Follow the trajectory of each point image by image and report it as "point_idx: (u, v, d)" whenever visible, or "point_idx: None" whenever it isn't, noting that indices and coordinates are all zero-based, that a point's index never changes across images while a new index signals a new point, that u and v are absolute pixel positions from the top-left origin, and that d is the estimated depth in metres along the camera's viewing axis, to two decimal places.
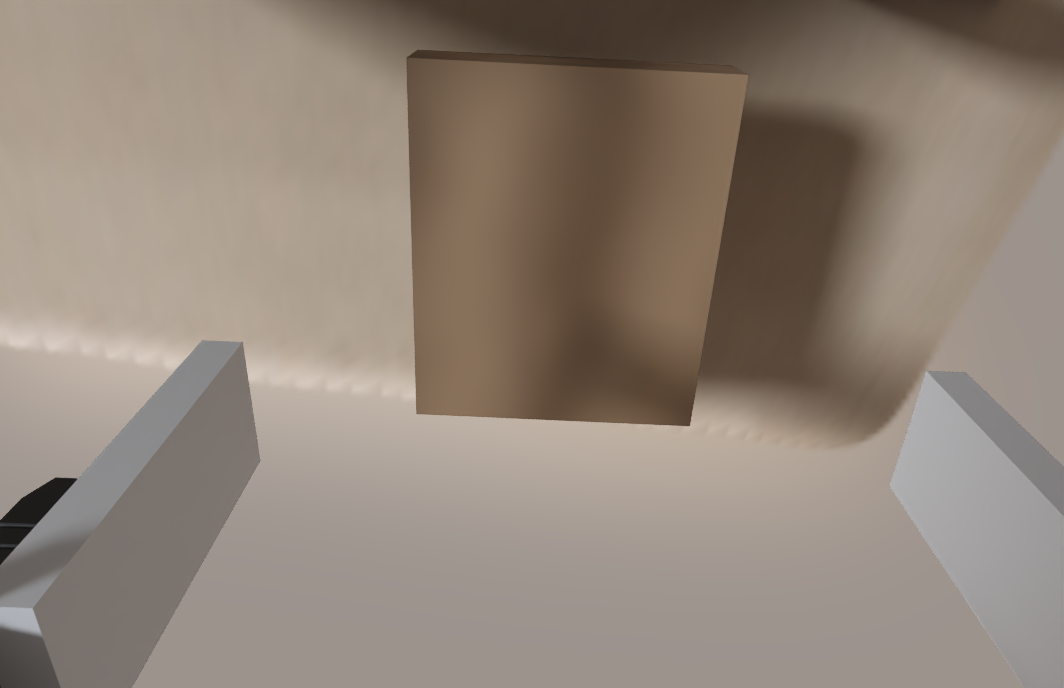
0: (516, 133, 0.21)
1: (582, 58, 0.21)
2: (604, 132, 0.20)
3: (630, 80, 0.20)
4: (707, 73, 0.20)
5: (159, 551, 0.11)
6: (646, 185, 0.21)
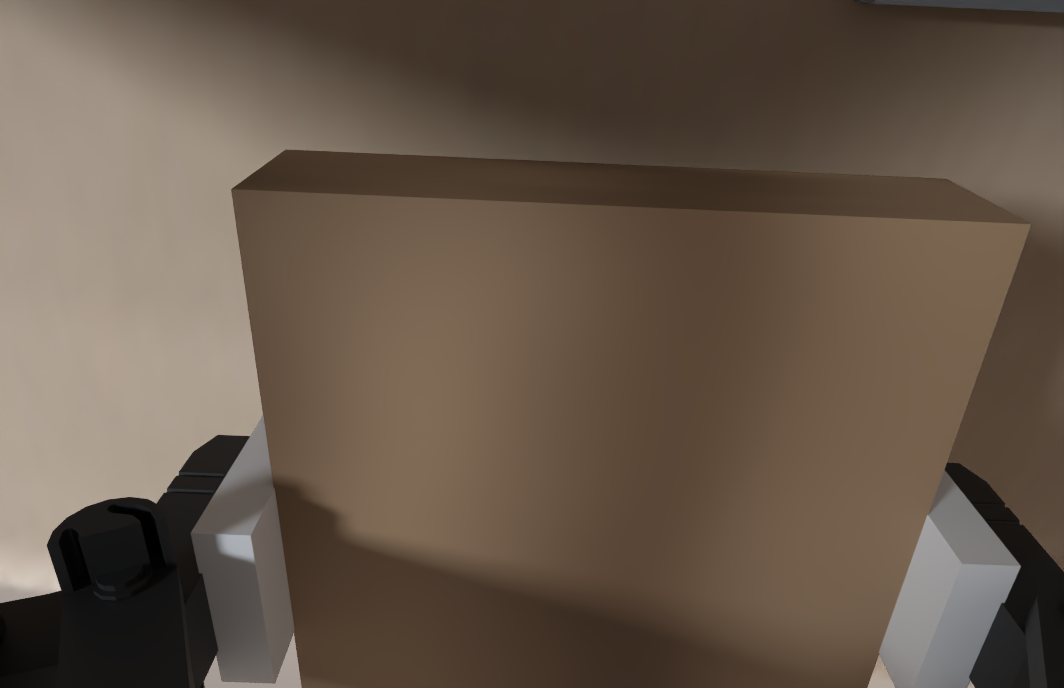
0: (492, 344, 0.09)
1: (633, 166, 0.10)
2: (688, 343, 0.09)
3: (754, 236, 0.09)
4: (934, 220, 0.09)
5: None
6: (773, 442, 0.10)
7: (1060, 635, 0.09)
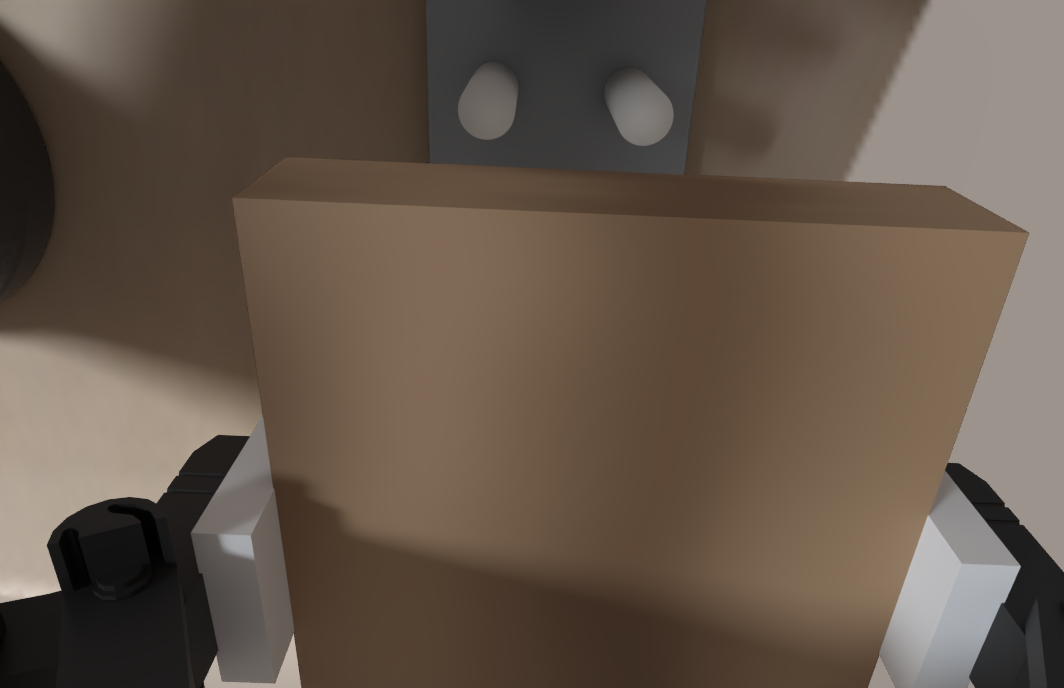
0: (492, 351, 0.09)
1: (633, 174, 0.10)
2: (687, 350, 0.09)
3: (752, 244, 0.09)
4: (932, 229, 0.09)
5: None
6: (772, 448, 0.10)
7: (1060, 634, 0.09)
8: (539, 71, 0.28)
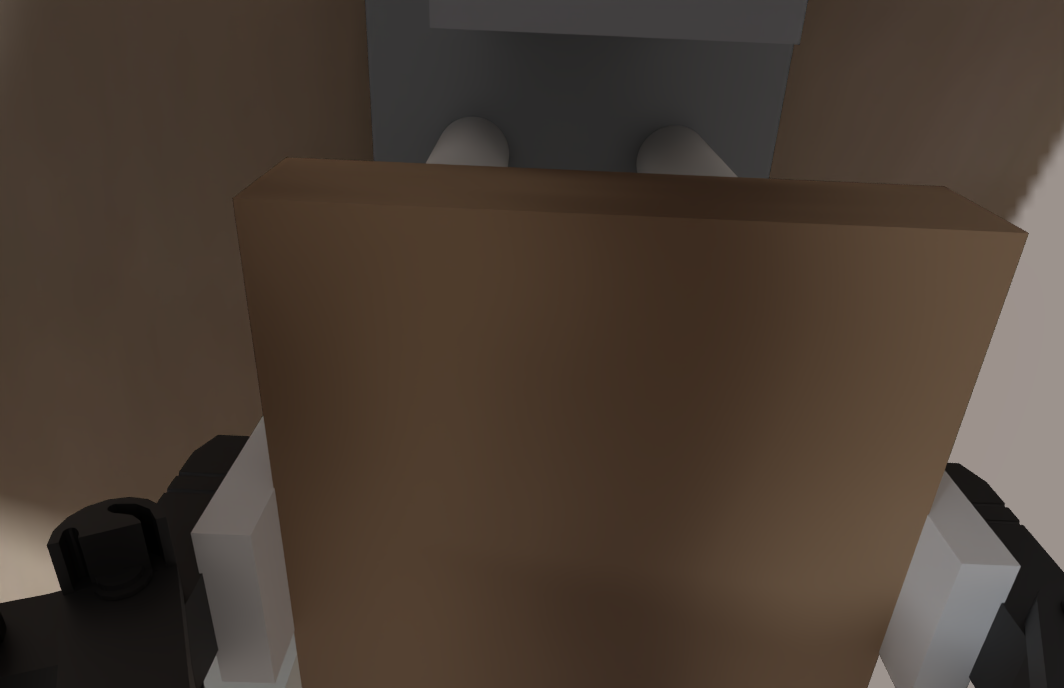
0: (492, 352, 0.09)
1: (632, 174, 0.10)
2: (687, 351, 0.09)
3: (752, 245, 0.09)
4: (932, 229, 0.09)
5: None
6: (772, 448, 0.10)
7: (1060, 634, 0.09)
8: (540, 131, 0.19)
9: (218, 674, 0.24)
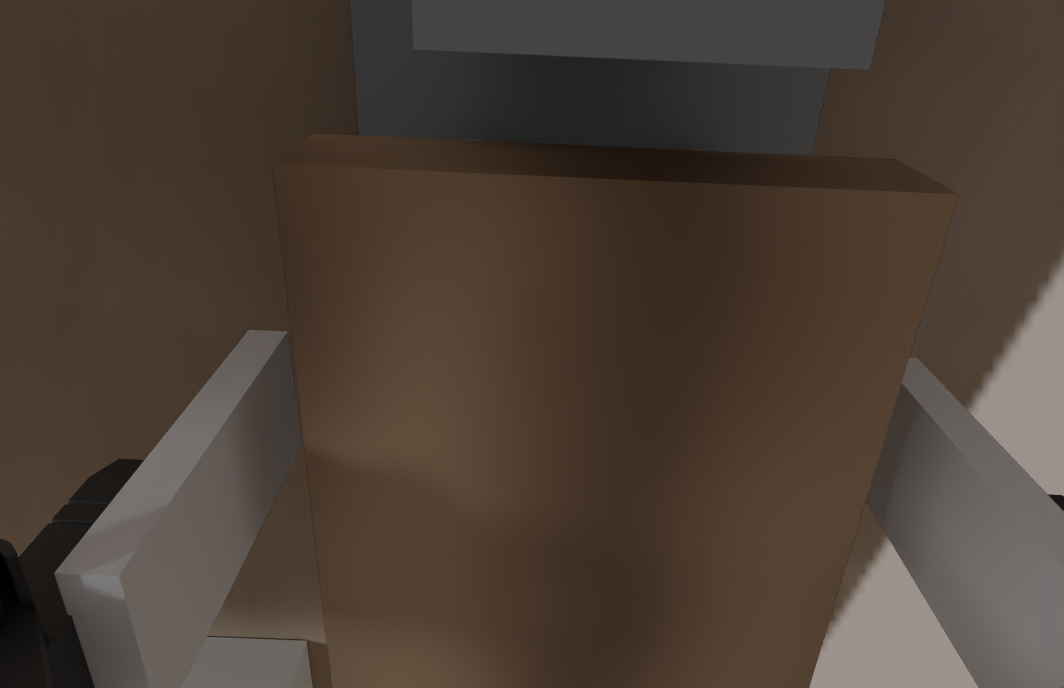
0: (495, 300, 0.11)
1: (619, 148, 0.12)
2: (666, 299, 0.11)
3: (720, 205, 0.10)
4: (875, 191, 0.10)
5: (219, 529, 0.12)
6: (741, 389, 0.11)
7: None
8: None
9: None
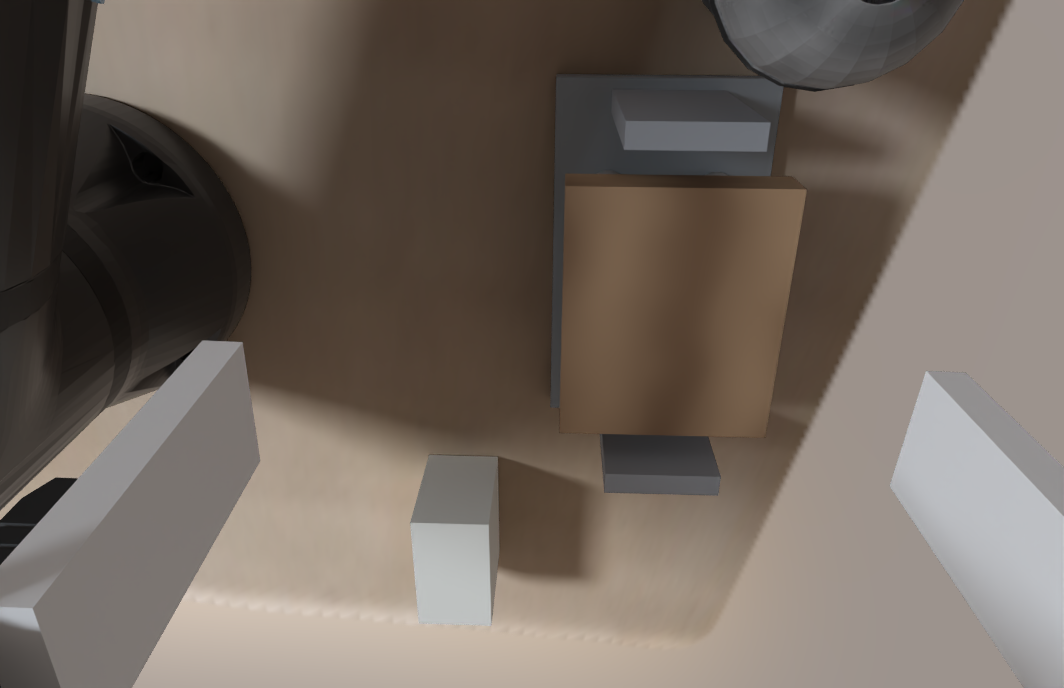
0: (640, 233, 0.29)
1: (683, 175, 0.30)
2: (703, 231, 0.29)
3: (722, 195, 0.28)
4: (777, 189, 0.28)
5: (160, 551, 0.11)
6: (733, 265, 0.29)
7: None
8: None
9: (451, 495, 0.40)
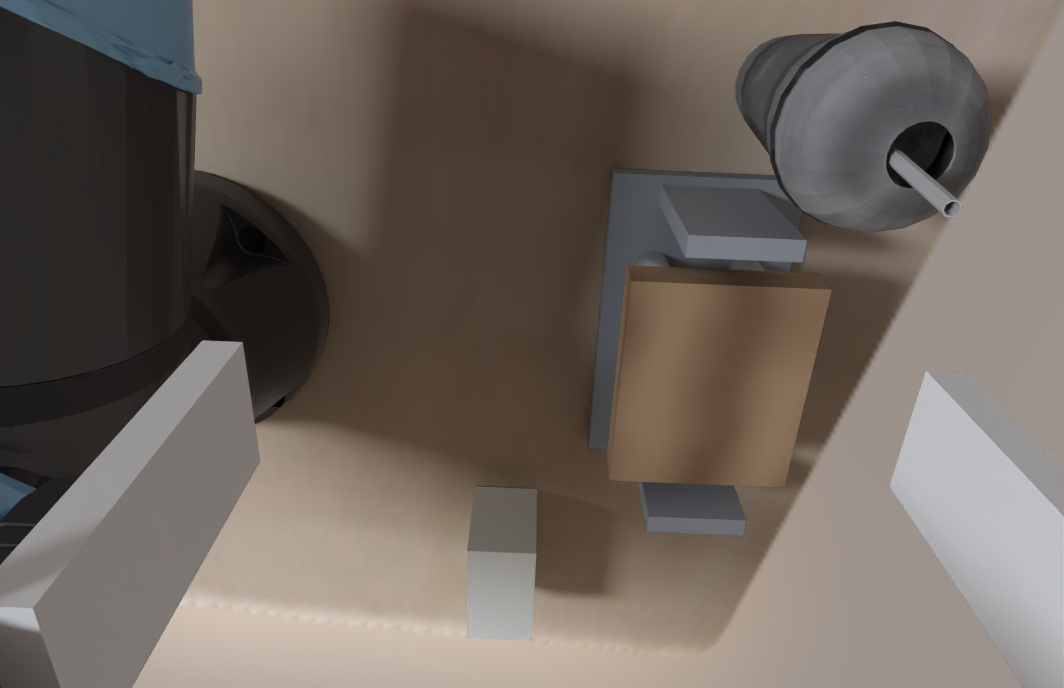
0: (691, 320, 0.34)
1: (727, 270, 0.35)
2: (744, 320, 0.34)
3: (761, 292, 0.34)
4: (807, 288, 0.34)
5: (159, 551, 0.11)
6: (767, 348, 0.35)
7: None
8: (683, 257, 0.40)
9: (500, 525, 0.45)
